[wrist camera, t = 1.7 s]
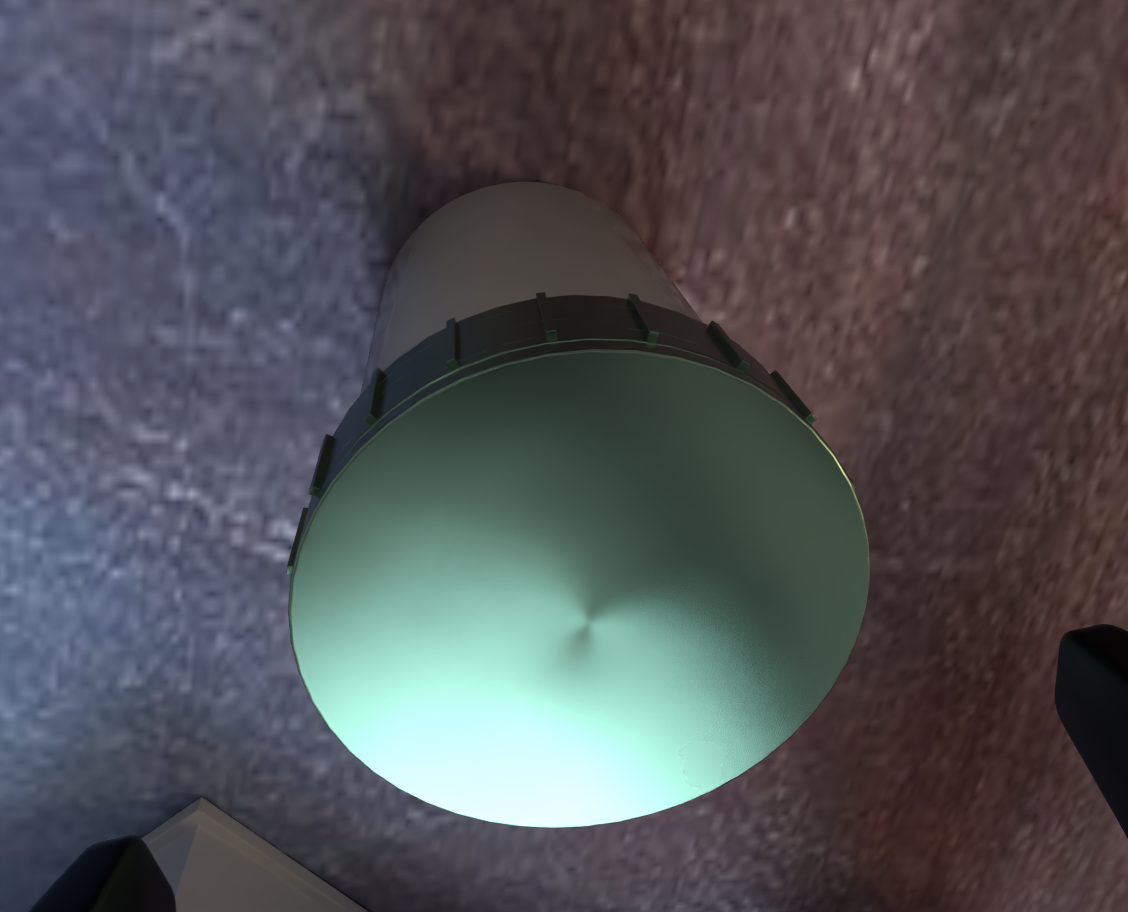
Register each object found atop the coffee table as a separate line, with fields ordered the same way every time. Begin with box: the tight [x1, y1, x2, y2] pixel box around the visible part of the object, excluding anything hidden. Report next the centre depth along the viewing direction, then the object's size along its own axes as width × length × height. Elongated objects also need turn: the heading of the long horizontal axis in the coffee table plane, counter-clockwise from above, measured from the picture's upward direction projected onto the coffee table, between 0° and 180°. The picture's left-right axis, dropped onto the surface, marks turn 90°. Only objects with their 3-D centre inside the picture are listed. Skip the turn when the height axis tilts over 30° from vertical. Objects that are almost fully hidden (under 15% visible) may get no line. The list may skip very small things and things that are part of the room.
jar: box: [360, 182, 703, 395], centre depth 15 cm, size 6×6×10 cm
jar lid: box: [287, 292, 870, 828], centre depth 11 cm, size 7×7×2 cm
